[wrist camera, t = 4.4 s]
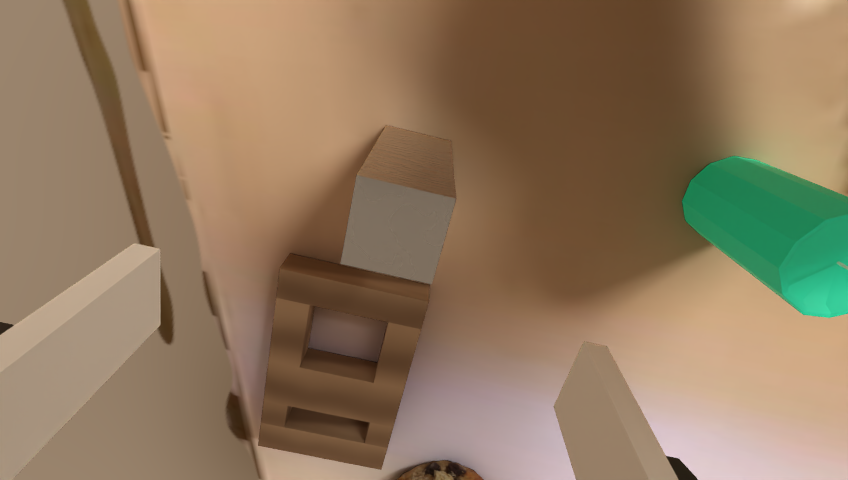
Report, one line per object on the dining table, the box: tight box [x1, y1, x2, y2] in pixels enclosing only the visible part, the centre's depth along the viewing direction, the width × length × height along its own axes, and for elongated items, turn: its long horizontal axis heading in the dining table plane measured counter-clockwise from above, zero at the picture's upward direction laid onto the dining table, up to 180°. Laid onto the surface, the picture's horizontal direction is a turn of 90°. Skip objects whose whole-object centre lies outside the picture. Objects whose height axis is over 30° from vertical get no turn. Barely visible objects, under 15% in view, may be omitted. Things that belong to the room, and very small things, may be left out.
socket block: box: [258, 254, 430, 470], centre depth 38 cm, size 18×11×2 cm, turn 167°
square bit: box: [340, 125, 456, 284], centre depth 27 cm, size 4×4×12 cm
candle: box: [682, 156, 848, 318], centre depth 27 cm, size 6×6×12 cm
